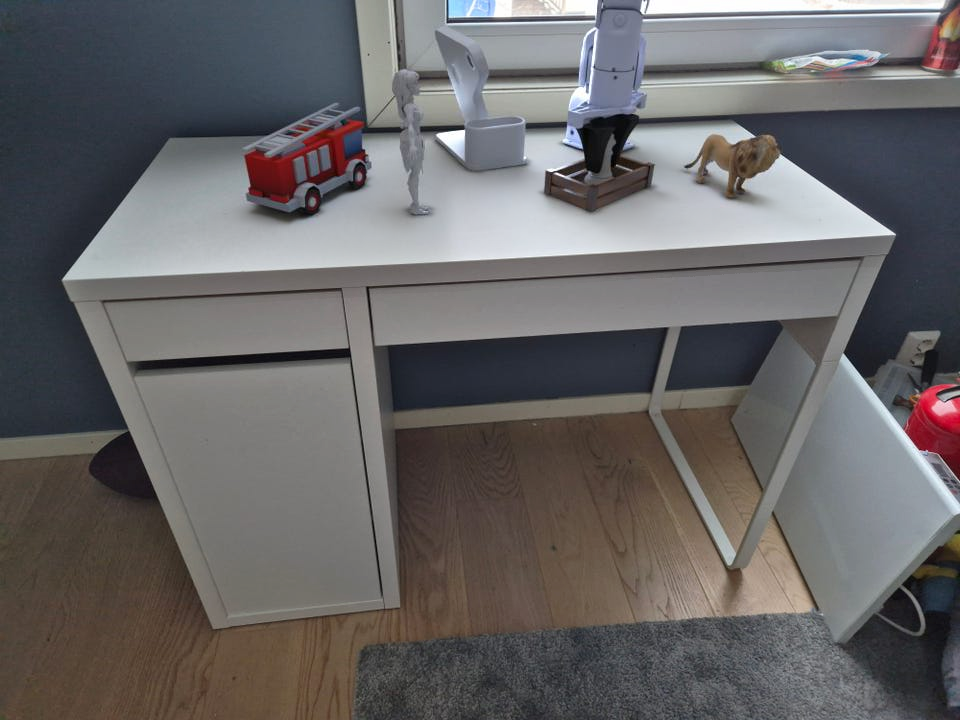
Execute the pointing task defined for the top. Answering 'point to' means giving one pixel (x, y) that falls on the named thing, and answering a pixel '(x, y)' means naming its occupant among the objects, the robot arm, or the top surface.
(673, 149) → the top surface
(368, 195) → the top surface
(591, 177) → the rook chess piece
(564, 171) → the crate
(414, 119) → the human figurine
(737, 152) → the lion figurine
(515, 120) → the phone holder
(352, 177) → the toy fire truck
